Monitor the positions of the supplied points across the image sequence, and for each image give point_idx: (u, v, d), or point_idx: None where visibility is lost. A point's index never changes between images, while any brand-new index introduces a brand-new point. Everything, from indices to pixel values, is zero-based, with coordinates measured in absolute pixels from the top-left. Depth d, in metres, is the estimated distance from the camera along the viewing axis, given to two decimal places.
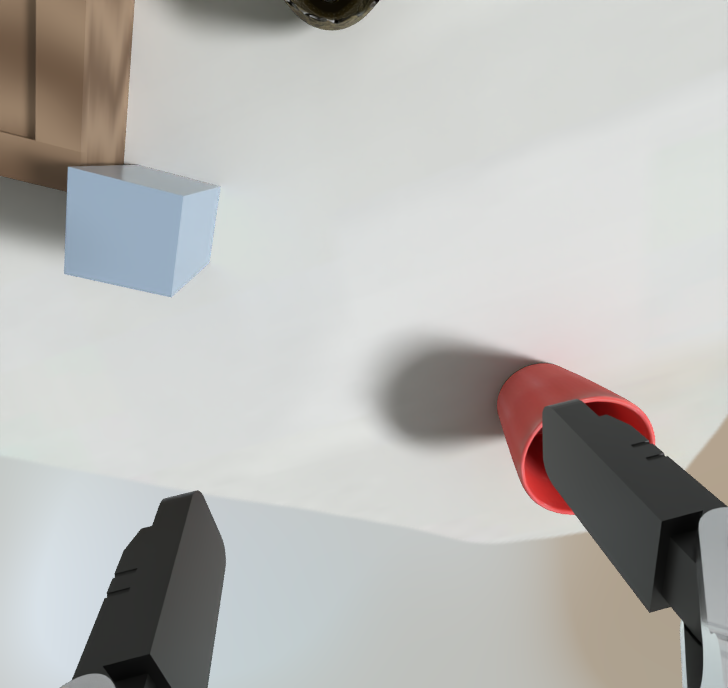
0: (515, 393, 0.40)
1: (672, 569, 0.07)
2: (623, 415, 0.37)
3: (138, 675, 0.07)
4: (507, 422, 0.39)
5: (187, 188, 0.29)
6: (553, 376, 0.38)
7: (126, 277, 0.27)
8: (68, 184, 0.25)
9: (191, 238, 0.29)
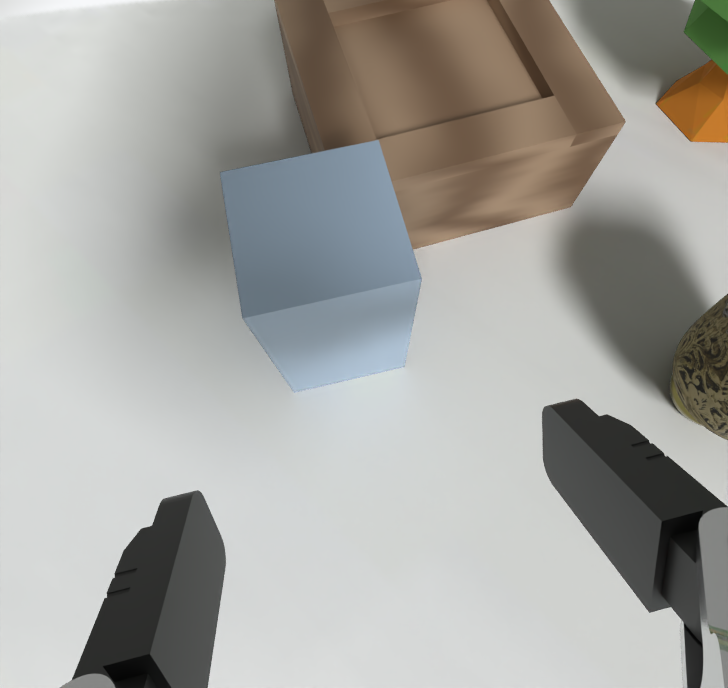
0: None
1: (672, 569, 0.07)
2: None
3: (138, 675, 0.07)
4: None
5: None
6: None
7: (249, 246, 0.16)
8: (354, 145, 0.17)
9: (342, 332, 0.18)
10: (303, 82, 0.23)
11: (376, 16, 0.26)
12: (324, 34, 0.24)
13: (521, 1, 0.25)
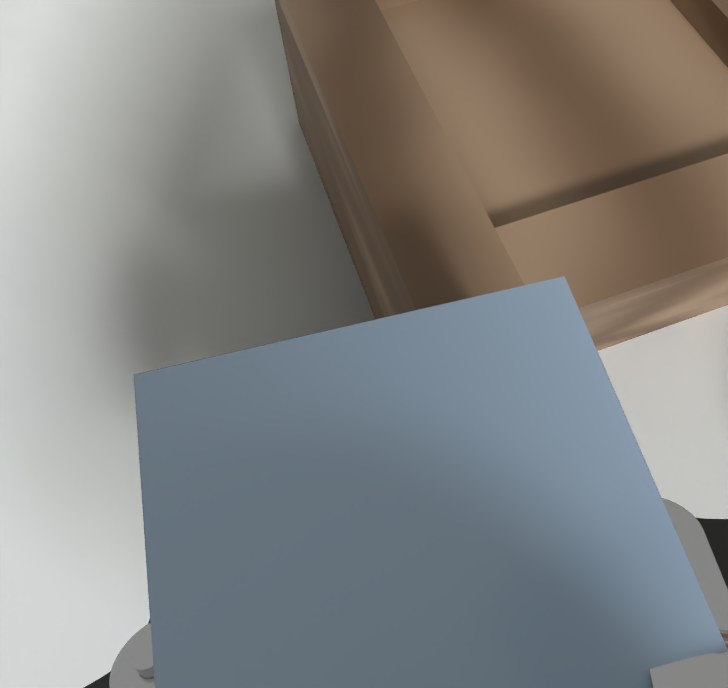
0: None
1: None
2: None
3: None
4: None
5: None
6: None
7: (209, 655, 0.05)
8: (503, 294, 0.06)
9: None
10: (335, 116, 0.12)
11: None
12: (365, 24, 0.13)
13: None
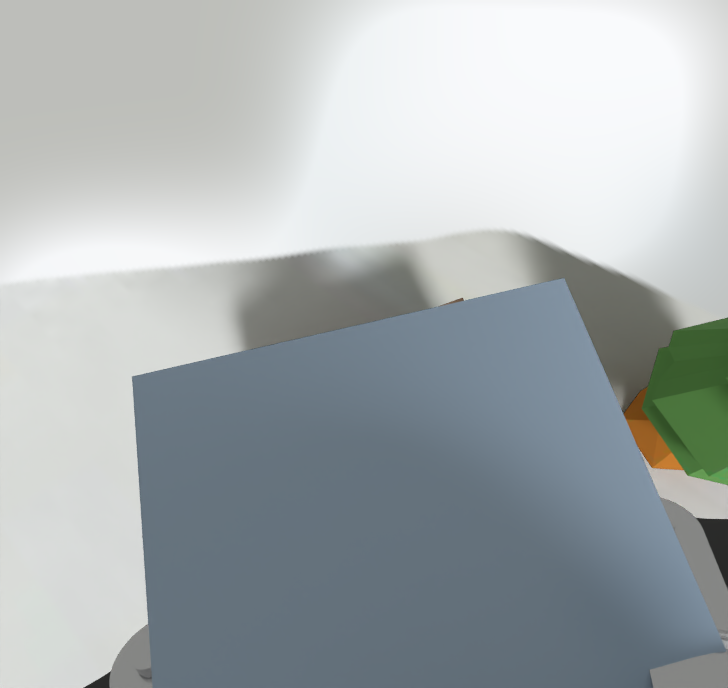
0: None
1: None
2: None
3: None
4: None
5: None
6: None
7: (208, 658, 0.05)
8: (502, 296, 0.06)
9: None
10: None
11: None
12: None
13: None
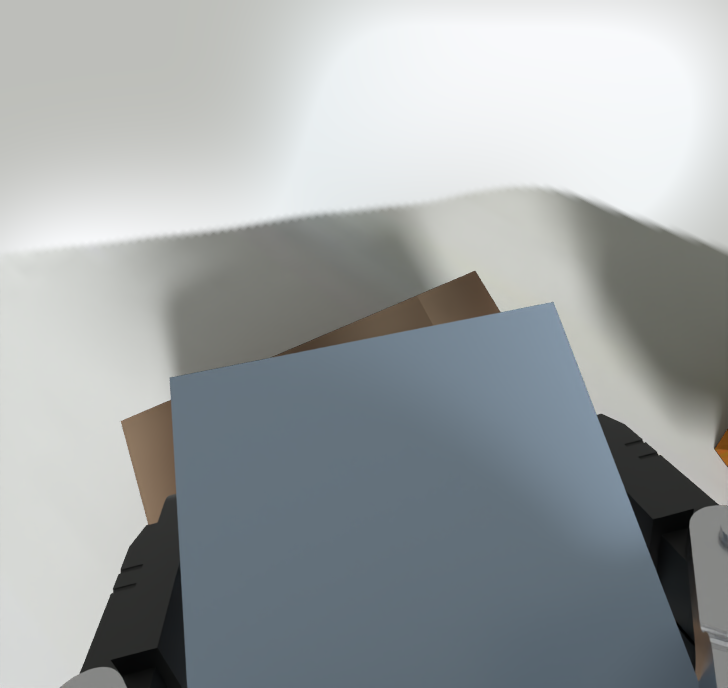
0: None
1: (663, 567, 0.07)
2: None
3: (146, 669, 0.07)
4: None
5: None
6: None
7: (232, 622, 0.06)
8: (497, 316, 0.07)
9: None
10: None
11: None
12: None
13: None
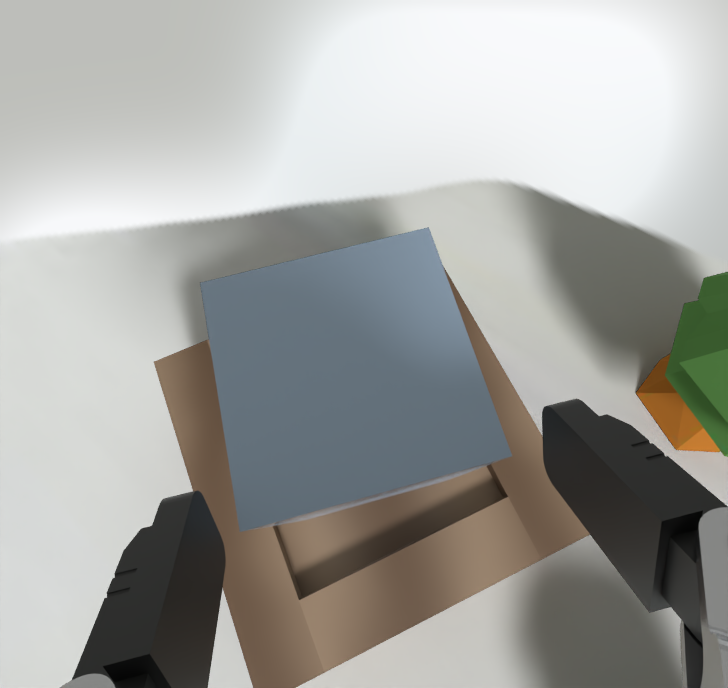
0: None
1: (672, 569, 0.07)
2: None
3: (138, 675, 0.07)
4: None
5: None
6: None
7: (247, 405, 0.10)
8: (395, 237, 0.12)
9: (381, 495, 0.13)
10: None
11: None
12: (221, 425, 0.20)
13: None
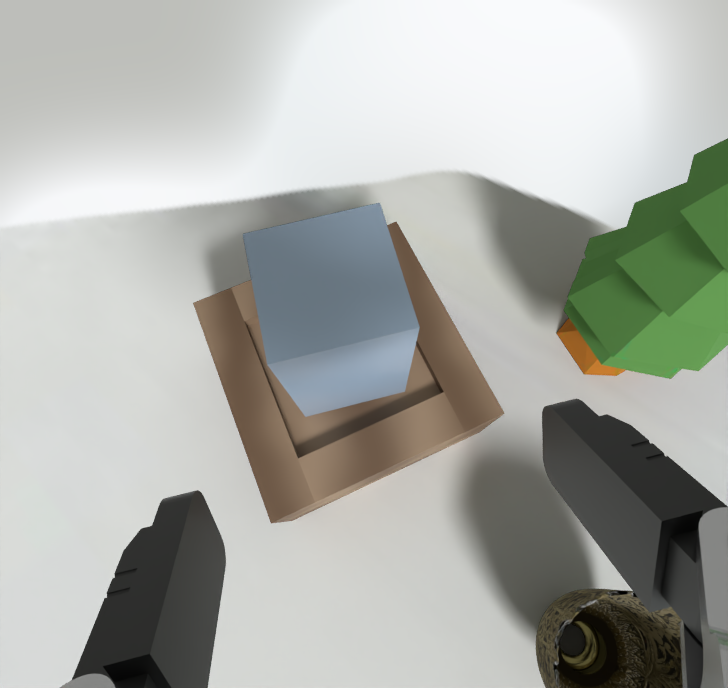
0: None
1: (672, 569, 0.07)
2: None
3: (138, 675, 0.07)
4: None
5: None
6: None
7: (270, 300, 0.18)
8: (359, 208, 0.20)
9: (350, 369, 0.21)
10: (229, 402, 0.26)
11: None
12: (242, 345, 0.28)
13: (409, 290, 0.29)
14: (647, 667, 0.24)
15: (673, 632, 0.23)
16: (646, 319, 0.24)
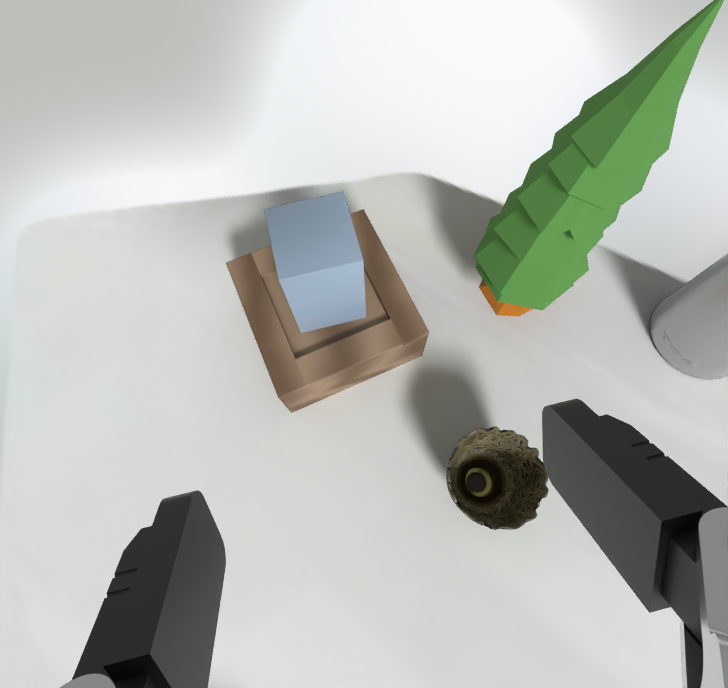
0: None
1: (671, 569, 0.07)
2: None
3: (138, 675, 0.07)
4: None
5: None
6: None
7: (280, 246, 0.33)
8: (331, 194, 0.34)
9: (327, 290, 0.35)
10: (250, 325, 0.41)
11: None
12: (259, 290, 0.42)
13: (370, 254, 0.43)
14: (517, 487, 0.39)
15: (526, 456, 0.37)
16: (514, 266, 0.38)
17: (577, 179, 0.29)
